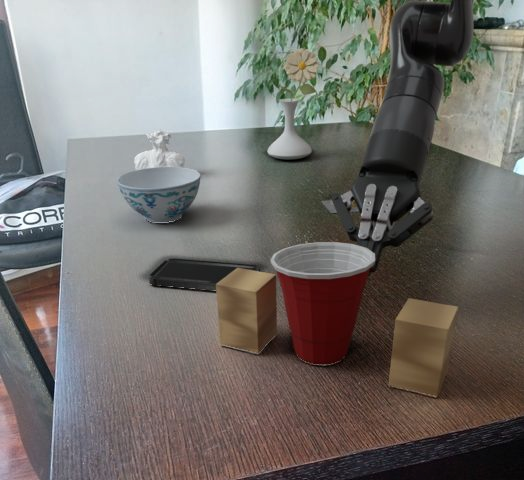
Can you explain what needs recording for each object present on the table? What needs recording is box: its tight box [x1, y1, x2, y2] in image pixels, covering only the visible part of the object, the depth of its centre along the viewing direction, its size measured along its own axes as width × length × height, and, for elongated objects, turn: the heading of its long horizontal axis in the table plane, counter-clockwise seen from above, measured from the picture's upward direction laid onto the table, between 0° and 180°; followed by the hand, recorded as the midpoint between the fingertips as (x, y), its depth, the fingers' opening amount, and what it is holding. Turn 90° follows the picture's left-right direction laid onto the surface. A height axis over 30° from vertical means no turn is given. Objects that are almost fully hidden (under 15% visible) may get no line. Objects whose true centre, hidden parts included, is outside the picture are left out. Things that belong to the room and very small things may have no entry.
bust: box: [133, 129, 186, 171], centre depth 131 cm, size 12×8×11 cm
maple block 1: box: [215, 268, 278, 353], centre depth 65 cm, size 5×5×8 cm
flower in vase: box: [266, 47, 320, 160], centre depth 140 cm, size 13×11×25 cm
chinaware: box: [116, 167, 201, 222], centre depth 105 cm, size 15×15×8 cm
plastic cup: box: [270, 241, 375, 364], centre depth 62 cm, size 11×11×12 cm
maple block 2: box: [388, 297, 459, 397], centre depth 57 cm, size 5×5×8 cm
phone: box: [148, 257, 261, 290], centre depth 82 cm, size 8×1×15 cm
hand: (362, 273), depth 68 cm, fingers closed
